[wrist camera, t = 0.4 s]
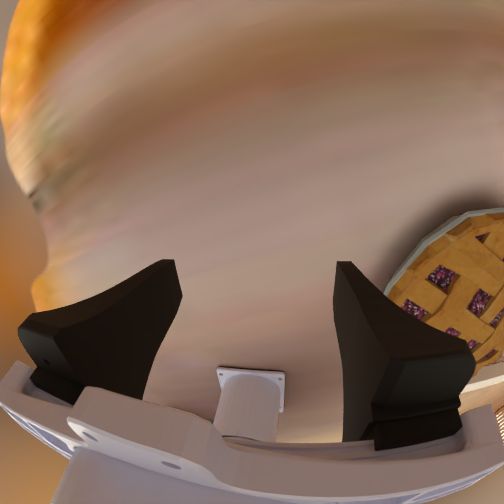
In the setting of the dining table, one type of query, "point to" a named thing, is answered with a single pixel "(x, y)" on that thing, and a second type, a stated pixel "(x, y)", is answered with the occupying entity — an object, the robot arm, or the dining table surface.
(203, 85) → the dining table surface
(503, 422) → the water bottle
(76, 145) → the dining table surface
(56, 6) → the dining table surface
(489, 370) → the serving corral
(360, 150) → the dining table surface
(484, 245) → the pie
